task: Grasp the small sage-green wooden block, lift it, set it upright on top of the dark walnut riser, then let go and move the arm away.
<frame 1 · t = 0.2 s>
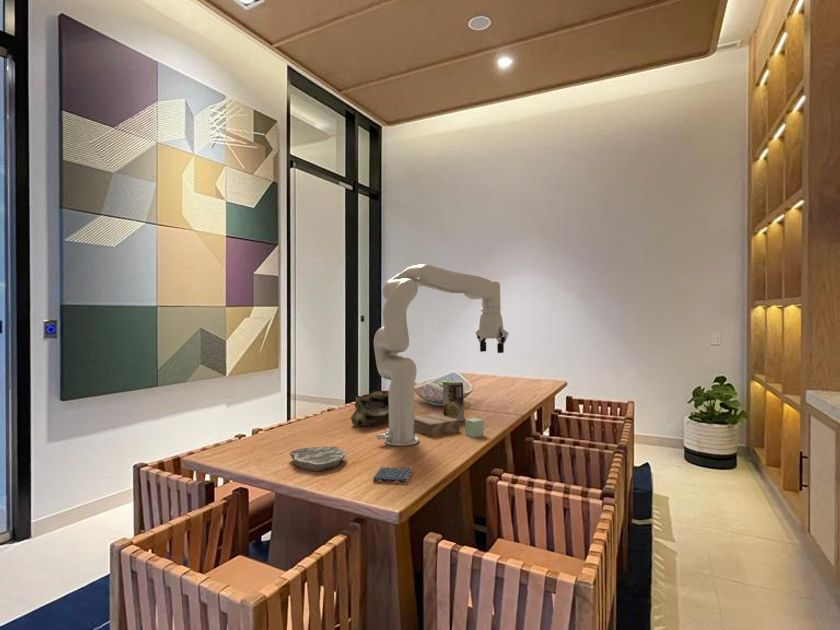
hand: (491, 352, 202), 31 cm above the table, tool pointing down, fingers open, 9 cm apart
walnut riser: (433, 430, 196), on the table
sage block: (474, 435, 187), on the table
bristly blue-grey mat: (393, 480, 140), on the table
hollow geode rock: (378, 422, 212), on the table
coffee box: (453, 419, 215), on the table
flat grey stone slab: (319, 463, 155), on the table
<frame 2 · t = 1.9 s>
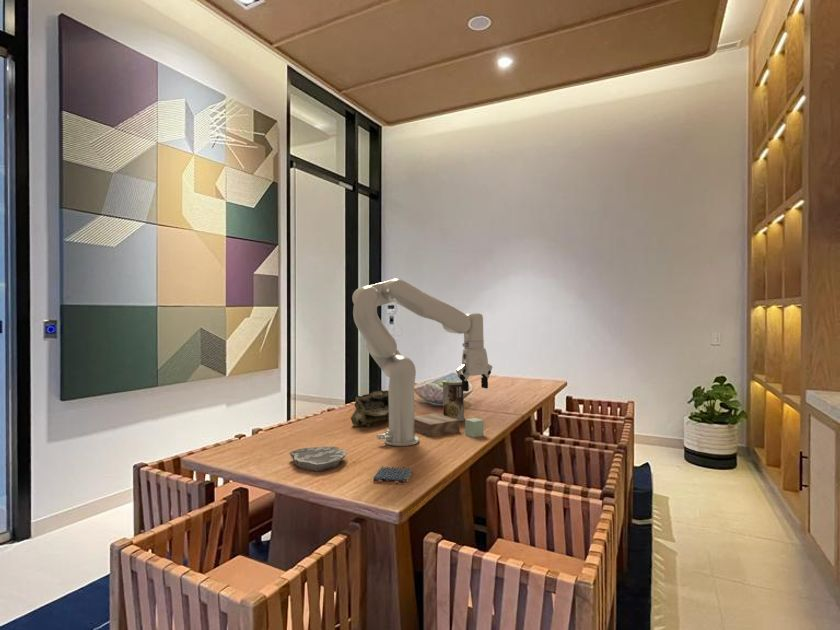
hand: (475, 389, 187), 18 cm above the table, tool pointing down, fingers open, 9 cm apart
nothing on the table moved.
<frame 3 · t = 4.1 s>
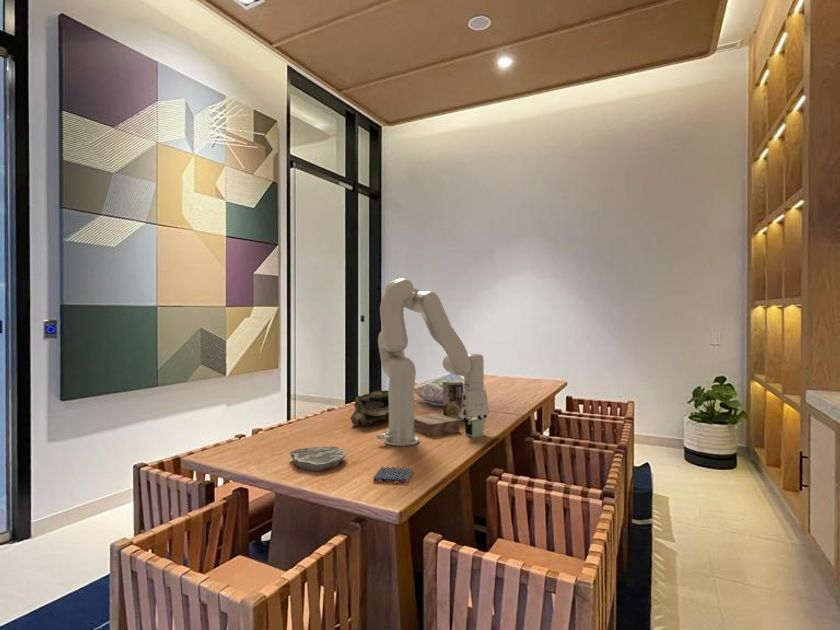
hand: (474, 432, 187), 1 cm above the table, tool pointing down, fingers closed on sage block, 5 cm apart
sage block: (474, 435, 187), on the table, touching gripper
everything else where it was.
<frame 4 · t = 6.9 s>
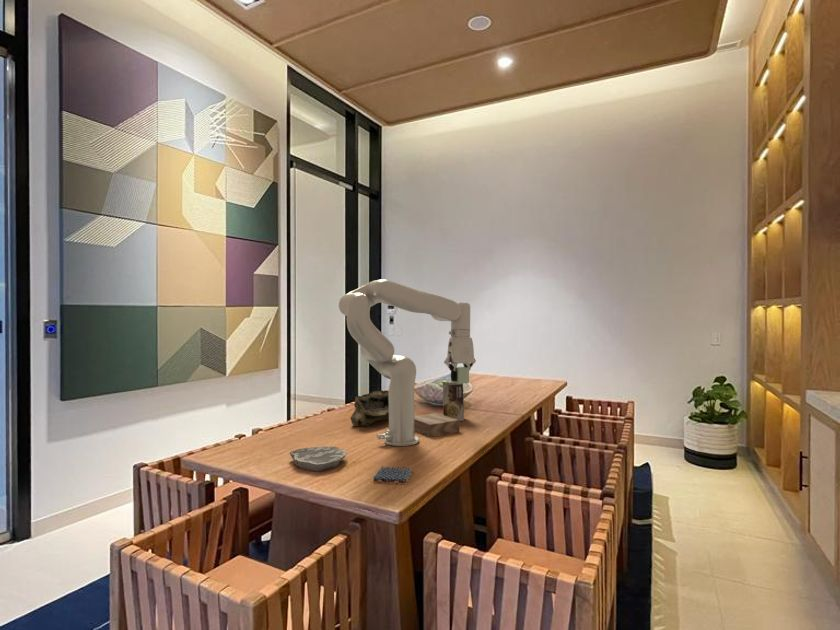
hand: (460, 380, 190), 21 cm above the table, tool pointing down, fingers closed on sage block, 5 cm apart
sage block: (460, 382, 190), point 20 cm above the table, touching gripper
everything else where it was.
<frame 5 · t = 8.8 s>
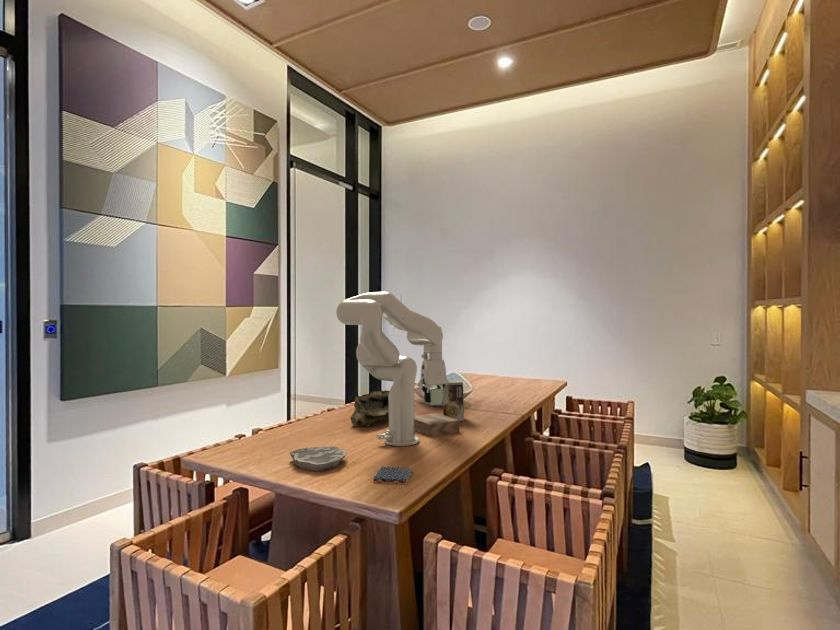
hand: (433, 400, 196), 12 cm above the table, tool pointing down, fingers closed on sage block, 5 cm apart
sage block: (433, 403, 196), point 11 cm above the table, touching gripper
everything else where it was.
when the fingers open (7 cm above the table, at t = 10.2 s): sage block drops 2 cm, resting on walnut riser.
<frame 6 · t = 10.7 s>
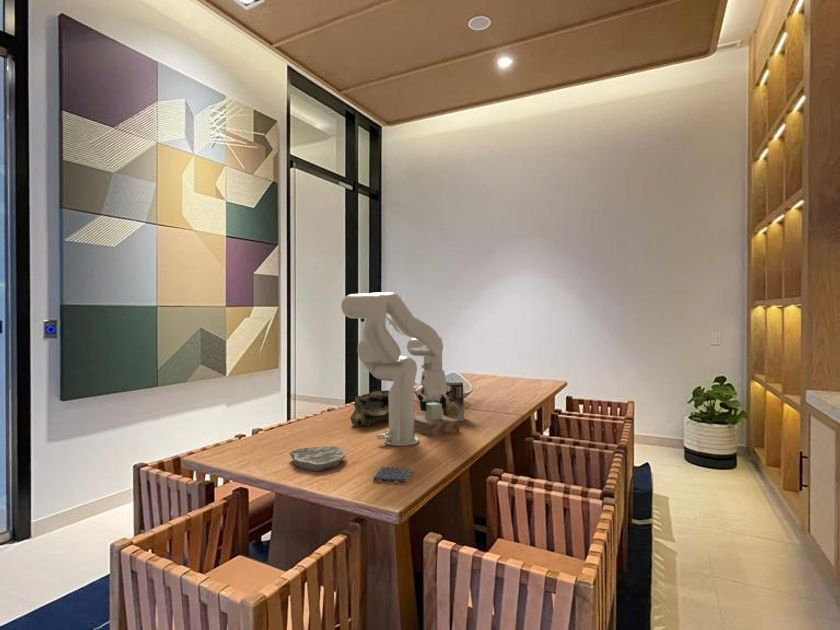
hand: (433, 409, 196), 8 cm above the table, tool pointing down, fingers open, 9 cm apart
walnut riser: (433, 431, 196), on the table, touching sage block
sage block: (433, 418, 196), point 4 cm above the table, touching walnut riser
everything else where it was.
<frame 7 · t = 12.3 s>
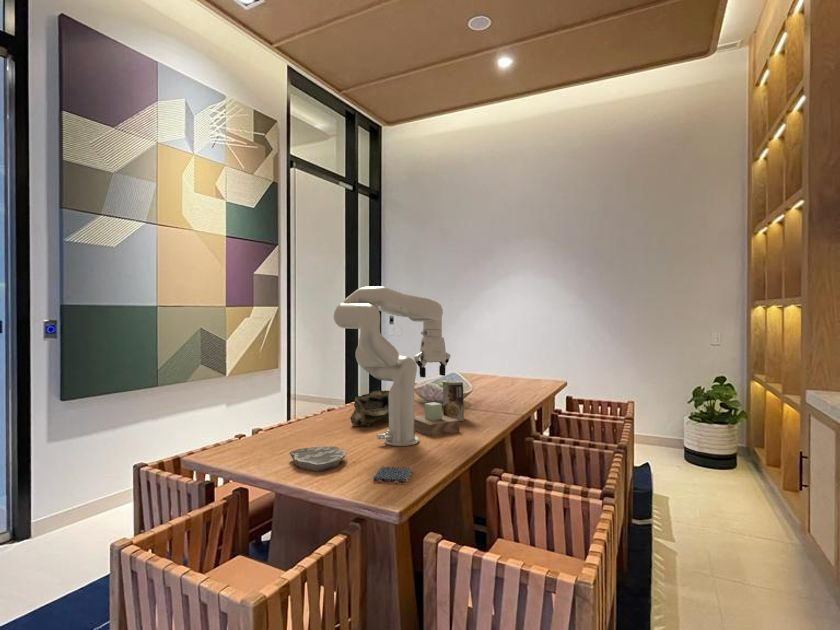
hand: (432, 376, 196), 22 cm above the table, tool pointing down, fingers open, 9 cm apart
walnut riser: (433, 430, 196), on the table
sage block: (433, 418, 196), point 5 cm above the table
everything else where it was.
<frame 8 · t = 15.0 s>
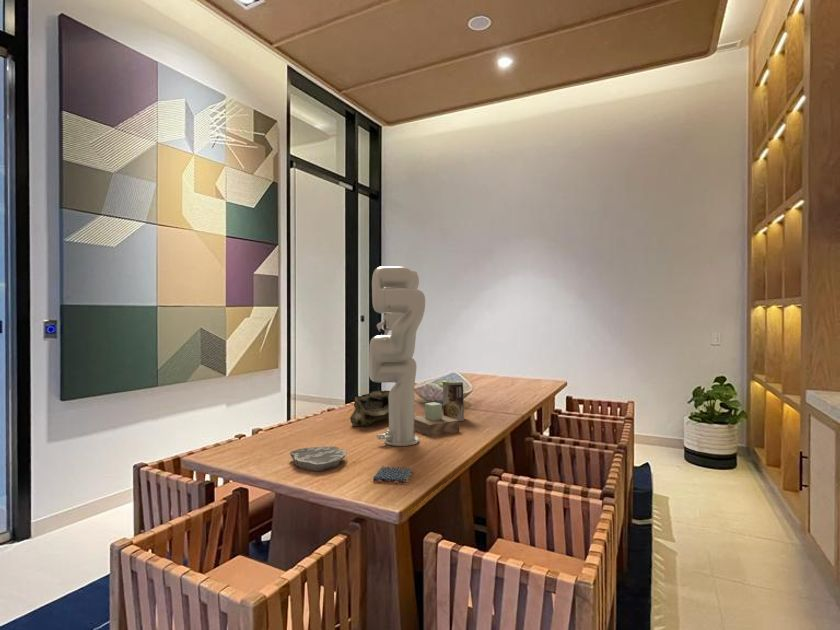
hand: (395, 344, 205), 34 cm above the table, tool pointing down, fingers open, 9 cm apart
walnut riser: (433, 431, 196), on the table, touching sage block
sage block: (433, 418, 196), point 4 cm above the table, touching walnut riser
everything else where it was.
at the end: sage block inside the target area on the walnut riser (0.2 cm from its centre), point 5.0 cm above the walnut riser's base; sage block tilted 0°; the gripper is holding nothing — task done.
